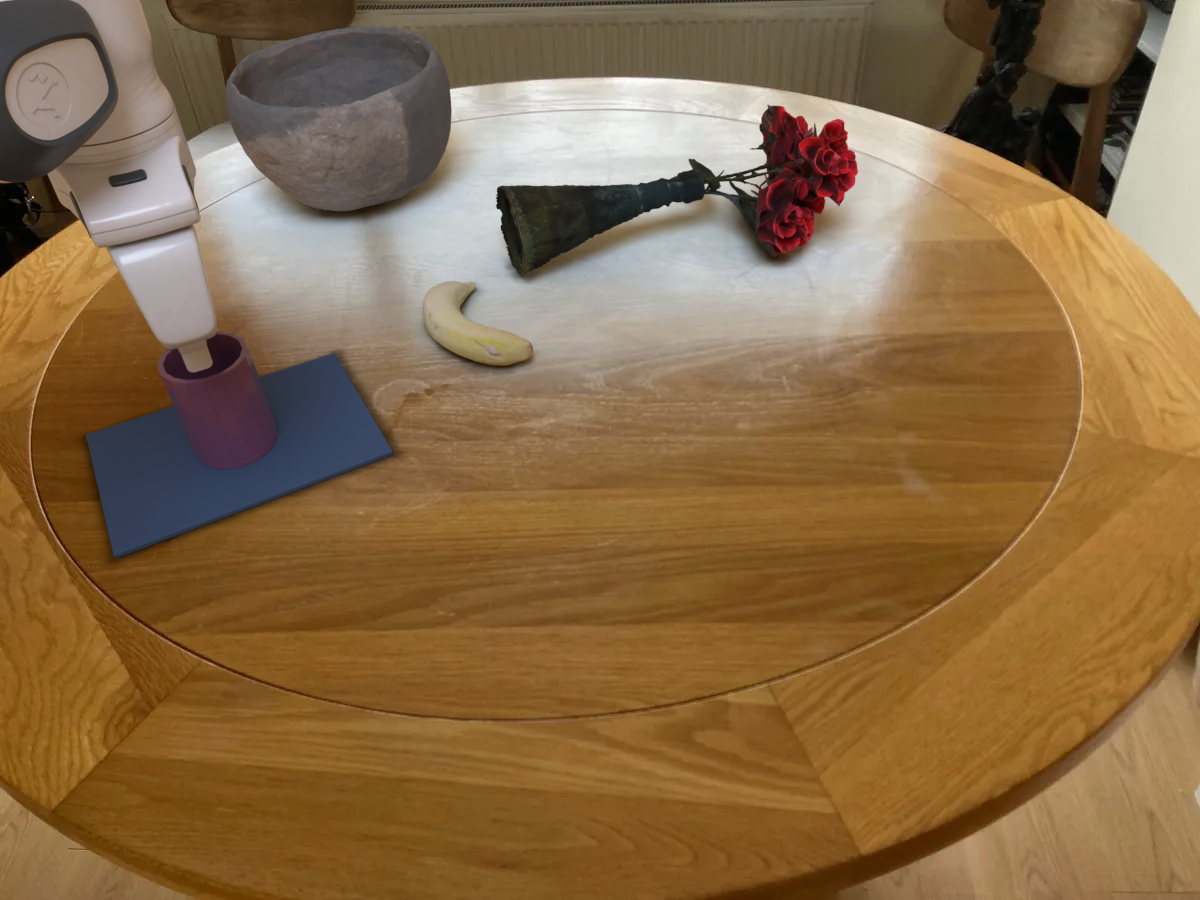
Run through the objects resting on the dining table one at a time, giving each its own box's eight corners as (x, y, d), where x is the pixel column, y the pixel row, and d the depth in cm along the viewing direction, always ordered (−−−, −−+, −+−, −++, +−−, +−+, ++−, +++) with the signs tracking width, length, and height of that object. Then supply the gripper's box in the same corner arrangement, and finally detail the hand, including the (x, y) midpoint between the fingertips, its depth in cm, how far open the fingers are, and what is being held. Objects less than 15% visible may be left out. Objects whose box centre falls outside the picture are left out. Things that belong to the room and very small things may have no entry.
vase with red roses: (528, 336, 104) (819, 254, 110) (552, 313, 85) (899, 215, 92) (486, 195, 103) (782, 120, 109) (500, 141, 85) (854, 55, 91)
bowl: (289, 264, 102) (249, 128, 92) (235, 176, 118) (195, 52, 108) (498, 202, 111) (481, 71, 100) (420, 128, 127) (400, 8, 116)
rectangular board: (115, 559, 72) (113, 555, 71) (87, 438, 82) (85, 434, 82) (393, 454, 79) (392, 451, 79) (335, 356, 90) (334, 352, 89)
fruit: (464, 390, 85) (459, 360, 83) (406, 308, 95) (400, 279, 93) (537, 365, 87) (534, 335, 85) (473, 287, 97) (469, 259, 95)
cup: (205, 480, 77) (166, 393, 71) (188, 433, 82) (150, 347, 75) (287, 451, 79) (256, 364, 73) (266, 407, 84) (236, 321, 78)
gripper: (52, 118, 69) (121, 283, 78) (89, 237, 56) (168, 420, 65) (142, 99, 71) (200, 262, 81) (200, 209, 58) (261, 389, 67)
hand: (186, 333), depth 73 cm, fingers open, 8 cm apart
